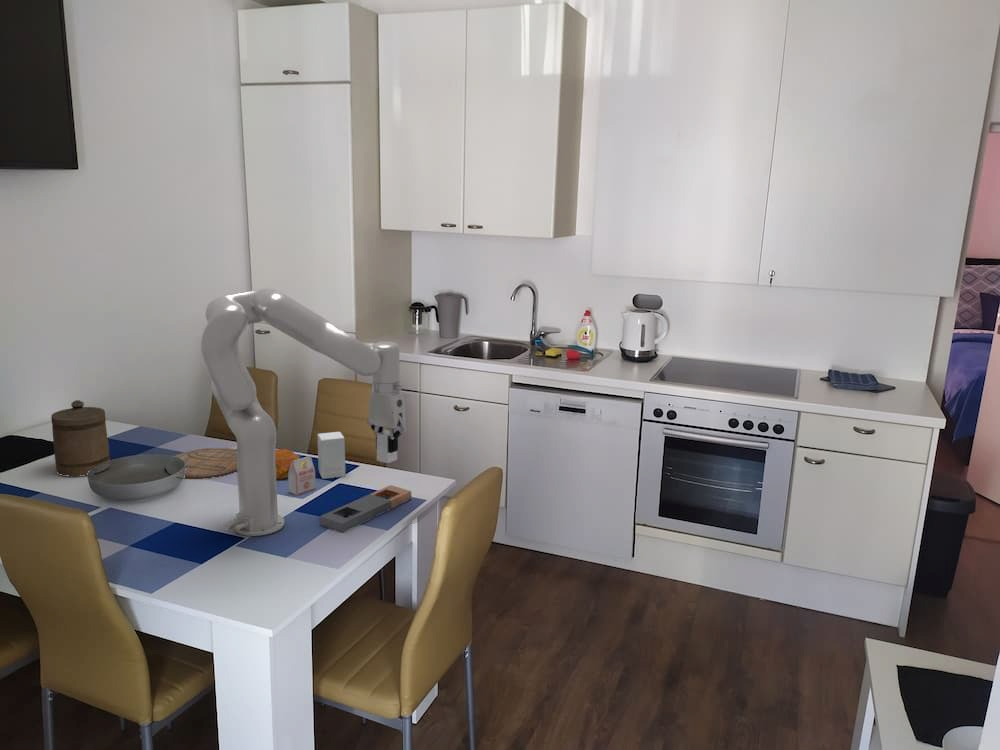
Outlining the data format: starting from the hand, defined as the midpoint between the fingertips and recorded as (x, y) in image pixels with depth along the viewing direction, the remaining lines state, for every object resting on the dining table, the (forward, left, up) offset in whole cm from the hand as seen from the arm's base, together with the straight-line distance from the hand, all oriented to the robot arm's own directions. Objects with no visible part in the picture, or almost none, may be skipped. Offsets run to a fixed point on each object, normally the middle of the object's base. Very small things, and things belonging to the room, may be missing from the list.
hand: (387, 449), depth 216 cm
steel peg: (0, 0, -3) cm, 3 cm away
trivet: (-11, +66, -17) cm, 69 cm away
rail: (-8, 0, -16) cm, 18 cm away
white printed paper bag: (-8, +26, -16) cm, 32 cm away
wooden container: (-36, +93, -16) cm, 101 cm away
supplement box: (+7, +29, -16) cm, 34 cm away
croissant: (-2, +43, -16) cm, 46 cm away
